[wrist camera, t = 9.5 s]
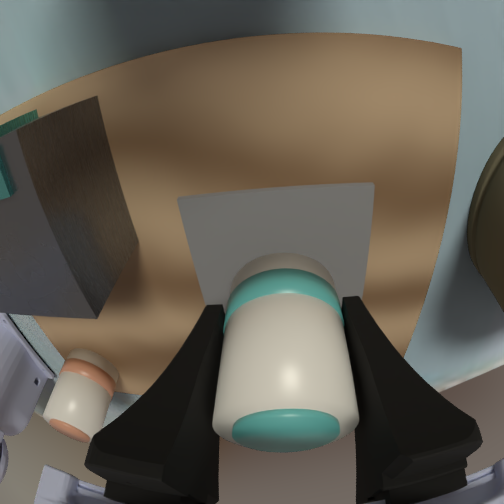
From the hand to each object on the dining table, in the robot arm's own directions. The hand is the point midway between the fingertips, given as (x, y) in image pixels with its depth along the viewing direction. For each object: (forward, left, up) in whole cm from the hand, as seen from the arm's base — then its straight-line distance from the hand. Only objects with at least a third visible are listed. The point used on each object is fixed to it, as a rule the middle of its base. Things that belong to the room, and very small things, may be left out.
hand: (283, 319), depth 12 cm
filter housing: (+5, +12, -3) cm, 14 cm away
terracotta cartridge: (-9, +15, -3) cm, 18 cm away
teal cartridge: (0, 0, -1) cm, 1 cm away
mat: (0, 0, -3) cm, 3 cm away
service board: (-2, +5, -4) cm, 7 cm away
